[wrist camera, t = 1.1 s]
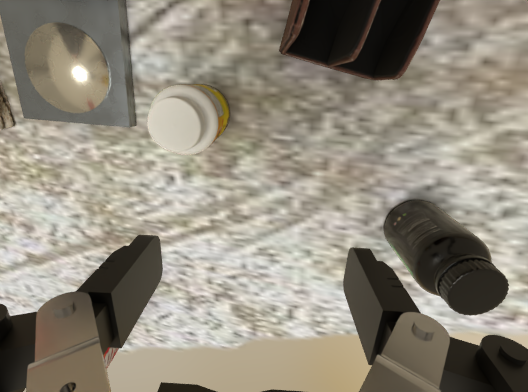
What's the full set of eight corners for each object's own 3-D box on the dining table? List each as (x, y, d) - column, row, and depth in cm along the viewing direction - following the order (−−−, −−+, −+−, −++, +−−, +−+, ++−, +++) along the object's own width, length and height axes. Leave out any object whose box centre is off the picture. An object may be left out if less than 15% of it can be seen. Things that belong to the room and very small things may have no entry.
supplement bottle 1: (196, 147, 32) (163, 175, 22) (168, 100, 30) (119, 108, 20) (240, 124, 30) (225, 143, 21) (214, 74, 29) (184, 69, 19)
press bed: (-12, -102, 24) (-151, -191, 16) (117, -90, 24) (41, -175, 16) (35, 116, 31) (-47, 128, 23) (136, 125, 31) (88, 140, 23)
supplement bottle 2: (381, 250, 36) (429, 327, 24) (384, 200, 33) (439, 260, 22) (437, 247, 35) (513, 323, 24) (444, 196, 33) (533, 254, 22)
